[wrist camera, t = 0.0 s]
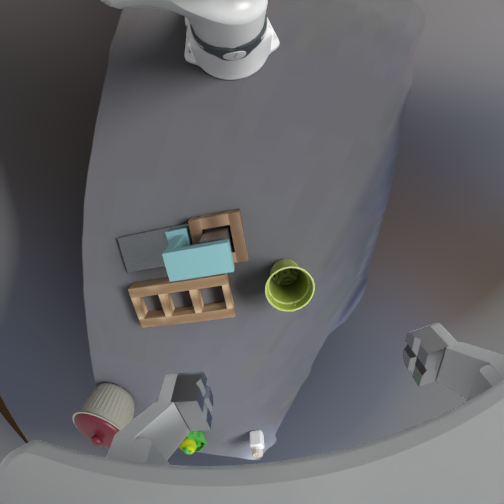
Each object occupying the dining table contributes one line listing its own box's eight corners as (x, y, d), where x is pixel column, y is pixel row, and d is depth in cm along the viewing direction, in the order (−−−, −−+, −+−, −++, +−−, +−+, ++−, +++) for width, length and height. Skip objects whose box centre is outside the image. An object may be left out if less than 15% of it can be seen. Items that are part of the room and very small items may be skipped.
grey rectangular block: (206, 227, 57) (198, 242, 48) (228, 223, 57) (225, 237, 48) (211, 249, 59) (204, 267, 49) (232, 245, 59) (230, 263, 49)
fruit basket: (169, 429, 80) (163, 455, 69) (178, 418, 77) (173, 445, 67) (199, 441, 82) (196, 466, 71) (210, 430, 79) (207, 457, 69)
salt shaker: (260, 428, 79) (262, 451, 70) (263, 434, 81) (265, 457, 72) (248, 430, 80) (249, 453, 71) (252, 436, 81) (252, 458, 72)
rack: (133, 282, 61) (127, 289, 58) (226, 268, 60) (225, 274, 57) (146, 319, 64) (142, 327, 61) (235, 308, 64) (234, 316, 60)
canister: (153, 409, 76) (139, 461, 56) (114, 414, 78) (96, 460, 58) (120, 370, 70) (95, 423, 50) (81, 378, 72) (55, 424, 52)
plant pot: (269, 296, 63) (273, 317, 55) (256, 258, 60) (258, 275, 52) (310, 283, 62) (319, 303, 54) (299, 245, 59) (308, 260, 51)
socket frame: (239, 208, 56) (239, 211, 53) (248, 255, 60) (248, 260, 57) (117, 232, 57) (112, 236, 54) (130, 274, 60) (125, 280, 58)
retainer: (230, 219, 56) (226, 236, 44) (237, 252, 58) (235, 277, 46) (166, 230, 56) (148, 250, 44) (175, 262, 58) (159, 288, 47)
